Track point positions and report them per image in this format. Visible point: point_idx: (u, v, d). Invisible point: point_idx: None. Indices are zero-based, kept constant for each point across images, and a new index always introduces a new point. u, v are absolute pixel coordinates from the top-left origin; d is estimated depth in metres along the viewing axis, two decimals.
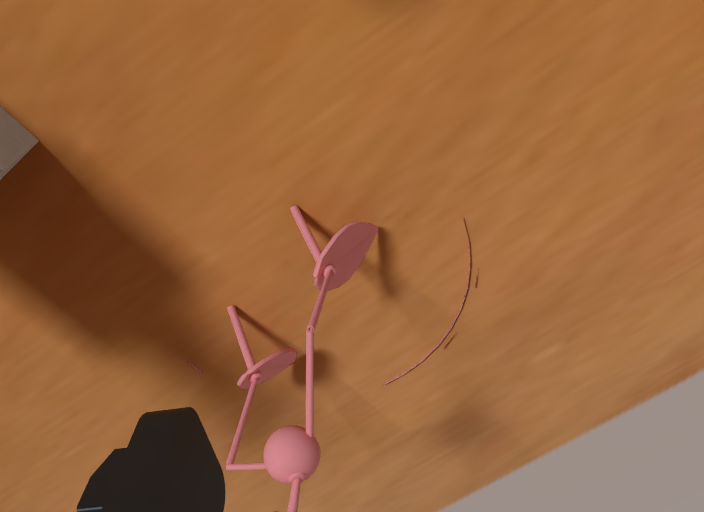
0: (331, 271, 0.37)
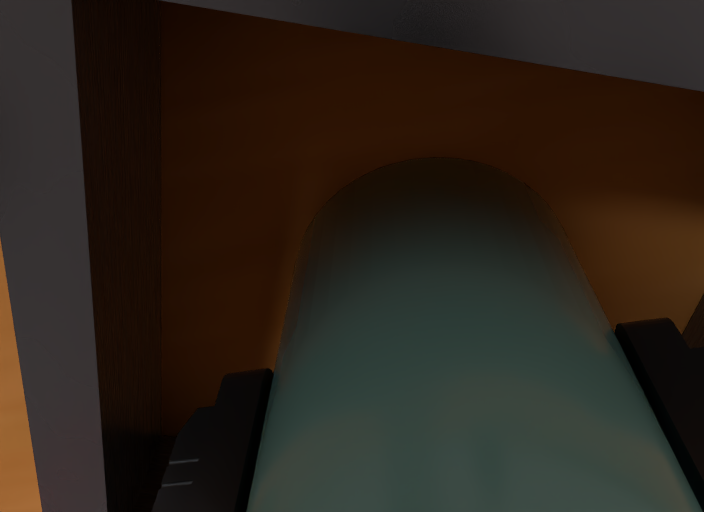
0: None
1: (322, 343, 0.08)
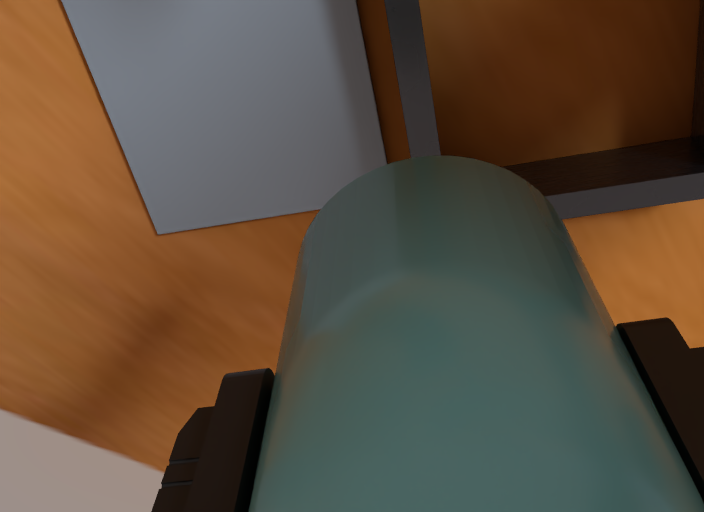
0: None
1: (326, 341, 0.08)
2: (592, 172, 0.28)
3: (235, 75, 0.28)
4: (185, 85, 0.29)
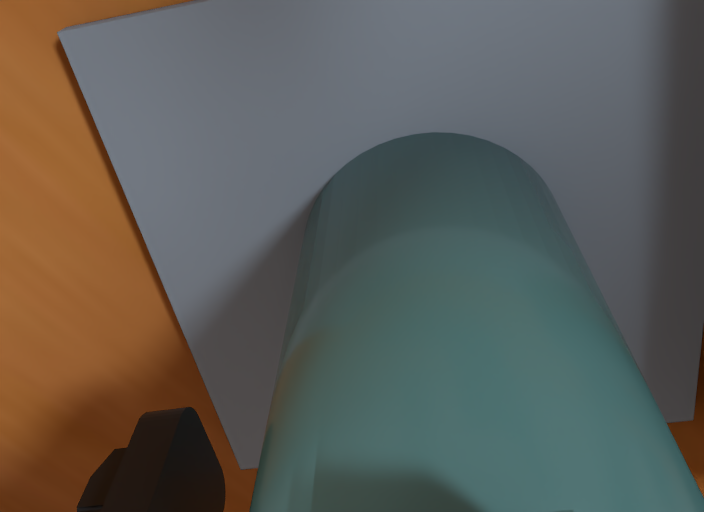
0: None
1: (333, 293, 0.09)
2: None
3: None
4: None
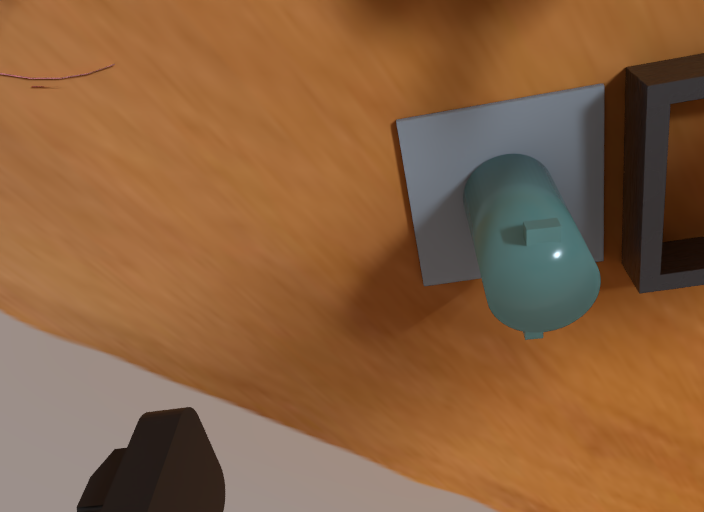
0: None
1: (495, 198, 0.36)
2: None
3: None
4: None
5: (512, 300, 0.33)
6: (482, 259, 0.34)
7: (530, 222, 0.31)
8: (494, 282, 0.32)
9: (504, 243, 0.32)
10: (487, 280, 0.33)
